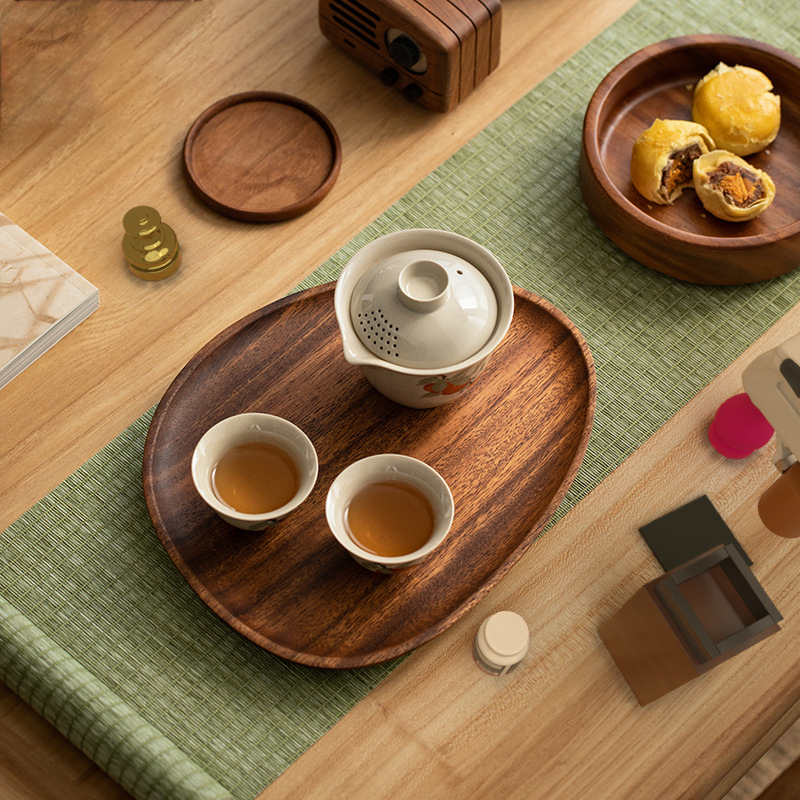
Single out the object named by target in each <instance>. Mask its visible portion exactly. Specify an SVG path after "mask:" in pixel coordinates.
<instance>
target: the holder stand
mask: <svg viewBox="0 0 800 800" xmlns="http://www.w3.org/2000/svg"><path fill="white" fill-rule="evenodd" d="M784 619H785V618H784V616H783V615H782V613H781V612H780V611H779V609H778V607H777V606H776V605H775V603H774V602H773V600H772V599H771V597H770V596H769V594H768V593H767V592H766V590H765V589H764V587H763V586H762V584H761V582H760V581H759V580H758V579H757V577H756V575H755V574H754V573H753V571H752V569H751V568H750V567H748V565H747V564H746V563H745V561H744V560H743V558H742V557H741V555H740V554H739V552H738V551H737V549H736V548H735V547H734V545H733V544H732V543H730V544H729V545H727V546H724V544H723V543H722V544H720V545H718V546H716V547H714V548H712V549H710V550H708V551H706V552H705V553H703V554H701V555H699V556H697V557H695V558H693V559H691V560H689V561H688V562H686V563H684V564H682V565H680V566H678V567H676V568H674V569H672V570H670V571H669V572H667V573H666V572H664V573H663V574H661V575H659V576H657V577H655V578H653V579H652V580H649V581H648V582H646V583H644V584H643V585H642V586H640V587H639V588H638V589H637V591H635V592H634V593H633V594H632V595H631V596H630V597H629V598H628V599H627V600H626V601H625V602H624V603H623V604H622V605H621V606H620V607H619V608H618V609H617V610H616V611H614V613H613V614H612V615H611V616H610V617H609V618H608V619H607V620H606V621H605V622H604V623H603V624H602V625H601V626H600V627H599V628H597V630H596V633H597V634H598V637H599V638H600V639H601V641H602V643H603V645H604V646H605V648H606V649H607V651H608V653H609V654H610V656H611V658H612V660H613V661H614V663H615V664H616V666H617V668H618V670H619V671H620V673H621V675H622V676H623V678H624V680H625V681H626V683H627V685H628V686H629V688H630V690H631V692H632V693H633V695H634V697H635V699H636V700H637V701H638V703H639V706H641V708H644V707H646V706H648V705H650V704H651V703H653V702H655V701H657V700H659V699H661V698H662V697H665V696H666V695H668V694H670V693H671V692H673V691H675V690H677V689H679V688H680V687H682V686H685V685H686V684H688V683H690V682H691V681H694V680H695V679H697V678H698V677H701V676H702V675H704V674H706V673H708V672H709V671H711V670H713V669H715V668H717V667H718V666H720V665H722V664H724V663H725V662H727V661H729V660H731V659H733V658H734V657H736V656H738V655H739V654H741V653H743V652H745V651H747V650H748V649H750V648H752V647H754V646H756V645H757V644H759V643H761V642H763V641H765V640H766V639H768V638H770V637H772V636H773V635H775V634H777V633H778V632H780V631H782V627H781V626H780V625H779V624H778V623H780V622H782V621H784Z"/></svg>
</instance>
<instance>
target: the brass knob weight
mask: <svg viewBox="0 0 800 800" xmlns="http://www.w3.org/2000/svg"><path fill="white" fill-rule="evenodd" d="M122 227H123V229H124V232H125V233H124V234H123V236H122V239H121V250H122V253H123V255H124V257H125V260H126V261H125V262H126V263H127V264H128V267H129V269H130V271H131V272H132V274H134V276H136V277H137V278H138V279H141V280H144V281H149V282H158V281H161V280H165V279H167V278H170V277H171V276H172V275H174V274H175V272H177V270H178V269H179V268H180V267H181V263H182V252H181V250H180V249H181V247H180V243H179V241H178V238H177V234H176V232H175V230H174V229H173V228H172V226H170V225H169V224H168V223H166V222H163V221H162V216H161V214H160V212H159V211H158V210H157V209H156V208H154V207H152V206H149V205H143V204H142V205H137V206H133V207H131V208H130V209H128V211H126V213H125V214H124V215H123V218H122Z"/></svg>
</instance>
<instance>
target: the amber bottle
mask: <svg viewBox="0 0 800 800" xmlns="http://www.w3.org/2000/svg"><path fill="white" fill-rule="evenodd" d="M757 513H758V516H759V519H760V521H761V523H762V524H763V525H764V527H765V528H766V529H767V530H768V531H770V532H771V534H773V535H776V536H778V537H781V538H784V539H798V538H800V462H799V461H798V460H797V461H796V462H795V463H794V464H793V465H792V466H791V467H790V468H789V469H788V470H787V471H786V472H785V473H783V474H781V475H780V476H779V477H778V478H777V479H775V481H774V482H773V483H772V484H771V485H770V486H769V487H767V488H766V489H765V490H764V491H763V492H762V493H761V495H760V496H759V499H758V501H757Z"/></svg>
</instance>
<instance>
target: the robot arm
mask: <svg viewBox="0 0 800 800" xmlns="http://www.w3.org/2000/svg"><path fill="white" fill-rule="evenodd" d="M741 382H742V387H743V390H744V392H745V393H747V394H748V395H749V396H750V398H751V399H752V400H753V402H754V403H755V404H756V406H757V407H758V408H759V410H760V411H761V412H762V413H763V415H764V416H765V417H766V419H767V420H768V421H769V423H770V424H771V425H772V427H773V428H774V429H775V432H776V433H775V452H776V454H775V455H773V457H772V458H771V459H770V462H771V463H772V464H773V466H774V467H775V468H776V469H777V471H778V472H779V473H780V474H781V475H782V474H783V473H785V472H786V471H787V470H788V469H789V468H790V467H791V466H792V465H793V464H794V463H795V462H796V461H797V460H798V461H799V462H800V331H799V332H797V333H796V334H794V335H793V336H791V337H790V338H787V339H786V340H784V341H783V342H782V343H780V344H779V345H777V346H775V347H773V348H771V349H769V350H767V351H765V352H763V353H761V354H759V355H758V356H757V357H756V358H755V359H754V360H752V362H750V363H749V364H748V365H747V366H746V367H745V368H744V370H743V371H742V372H741Z"/></svg>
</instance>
